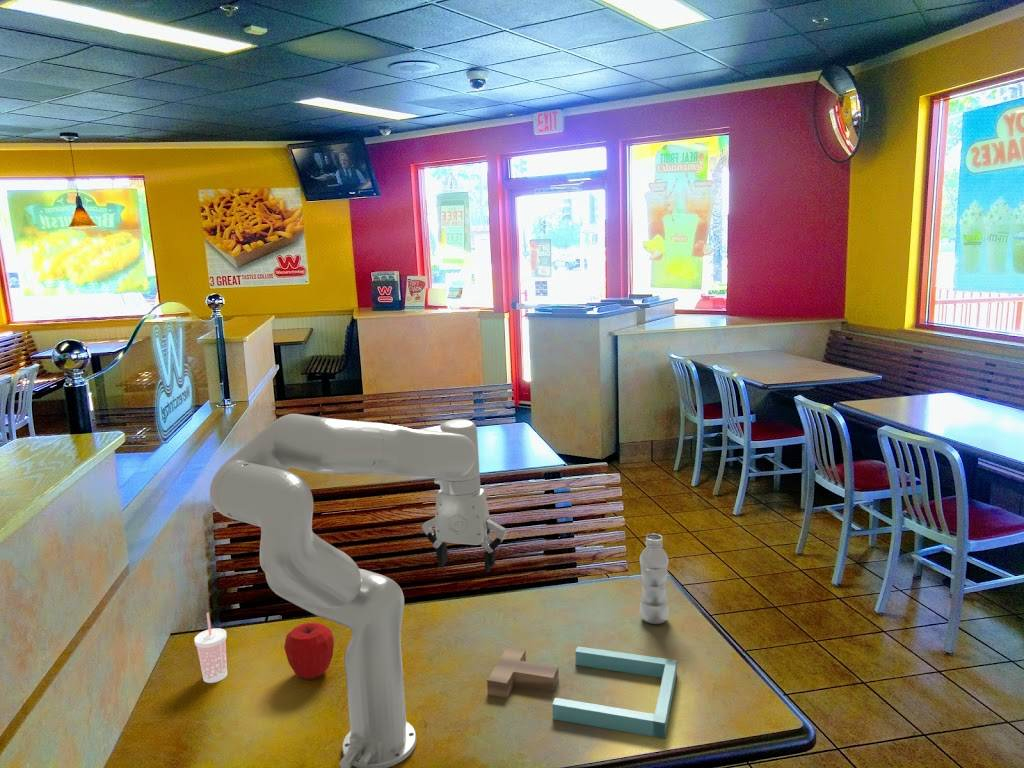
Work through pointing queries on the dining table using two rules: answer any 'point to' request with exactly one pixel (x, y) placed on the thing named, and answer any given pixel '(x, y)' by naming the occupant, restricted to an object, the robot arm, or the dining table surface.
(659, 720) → the teal corral
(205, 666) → the beverage cup
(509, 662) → the walnut T-block
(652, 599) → the plastic bottle
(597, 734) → the dining table surface
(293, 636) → the apple
